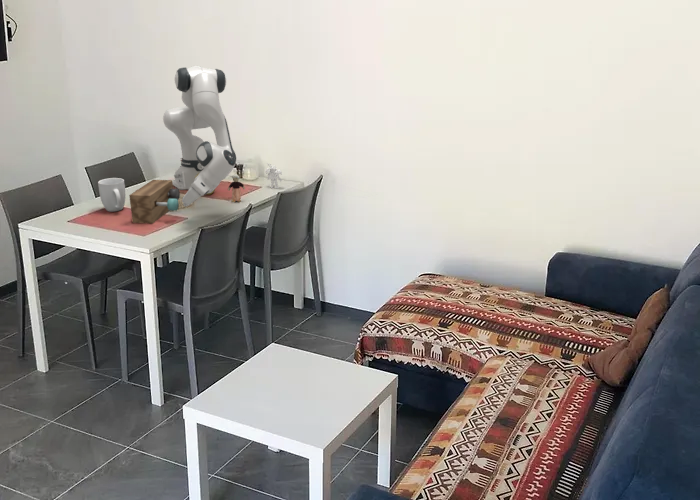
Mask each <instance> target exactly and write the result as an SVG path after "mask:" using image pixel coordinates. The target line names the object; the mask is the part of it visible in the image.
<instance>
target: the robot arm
mask: <svg viewBox="0 0 700 500" xmlns="http://www.w3.org/2000/svg"><path fill="white" fill-rule="evenodd" d="M226 77H227V76H226V74H225V72H224V71H223V70H221V69H218V68H209V67H203V66H199V65H193V66H191V67H180V68H178V69H177V70H176V73H175V76H174V84H175V87H176V89H177V90H178V91H179V92H181V100H182V103H183V105H185V106H176V107H172V108H169V109H166V110H165V111H164V113H163V117H162V119H163V121H162V122H163V124H164V126H165V127H166V128H167V130H169V131H171V132H172V133H173V134H174V135H175V136H176V137H177V139H178V141H179V144H180V149H181V156H182V157H181V158H180V166H179V167H178V168H177V169H176V170H175V172H174V175H173V176H174V179H173V180H172V183H173V187H175V188H176V189H179V191H182V190H187V191H186V193H185V194H184V196H183V197H182V199H181V202H182V205H183V206H184V207H185V208H186V207H189V206H190V205H192V204H194V202H195V201H197V200H199V198H201V197H204V196H206V195H207V194H208V193H211V192H212V191H213V190H214V189H216V188H217V187H218V186H220V183H221V182H222V181H223V180H225V179H226V178H227V177H228V176H229V174H231V172H233V170H234V168H235V166H236V163H237V155H236V152H235V150H234V148H233V145H232V139H231V135H230V131H229V126H228V121H227V118H226V116H225V114H224V112H223V110H222V107H221V103H220V96H219V94H220V93H223V92H224V91H225V89H226V85H227V78H226ZM209 127H210V128H211V129H212V130H213V133H214V136H215V141H216V143H214V142H210V141H209V140H208V141H204V139H203V138H201V137H199V136H196V135H194V134H193V133H192V130H200V129H207V128H209ZM196 175H198V176H197V177H196V178H195V176H196ZM214 191H215V190H214Z"/></svg>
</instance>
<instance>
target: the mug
mask: <svg viewBox="0 0 700 500" xmlns="http://www.w3.org/2000/svg"><path fill="white" fill-rule="evenodd" d="M97 185H98V193H99V197H100V201H101V203H102V205H103V208H104V209H105V211H107V212H120V211H122V210H123V209H124V207H125V203H126V184H125V179H123V178H120V177H119V178H118V177H110V178H109V177H108V178H104V179H100V180H99V181H98V182H97Z"/></svg>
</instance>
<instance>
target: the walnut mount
mask: <svg viewBox="0 0 700 500" xmlns="http://www.w3.org/2000/svg"><path fill="white" fill-rule="evenodd" d="M172 181H173V180H171V179H151V180H150V181H149V182H147V183H145V184H144V185H143V186H141V187H140V188H138V189H137V190H135V191H134V192H132V193H130V194H129V203H130V204H129V205H130V211H131V212H130V214H131V220H132V223H133V224H154V223H155V221H156V222H157V221H159V219H161V218H162V217H163V216H165V214H167V213H168V212H170V210H168V207H167V206H157V205H156V203H157V202H168V199H169V196H168V192H169V191H170V189H174V185H173V183H172Z"/></svg>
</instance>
